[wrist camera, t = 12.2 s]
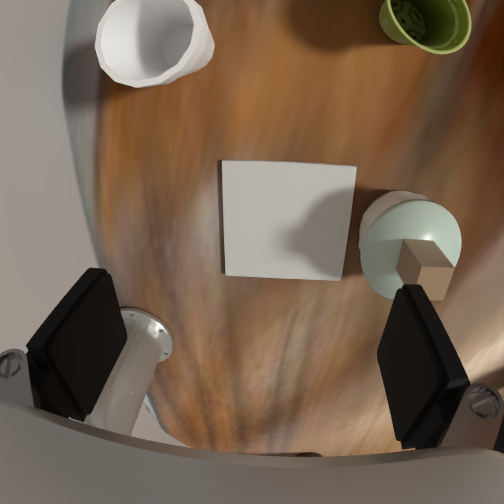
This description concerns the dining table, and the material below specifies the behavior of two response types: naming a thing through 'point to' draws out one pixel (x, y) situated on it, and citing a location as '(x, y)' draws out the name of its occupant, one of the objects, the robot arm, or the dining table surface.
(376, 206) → the bowl
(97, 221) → the dining table surface
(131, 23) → the foam cup
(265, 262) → the mat
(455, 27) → the plant pot
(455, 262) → the lid
